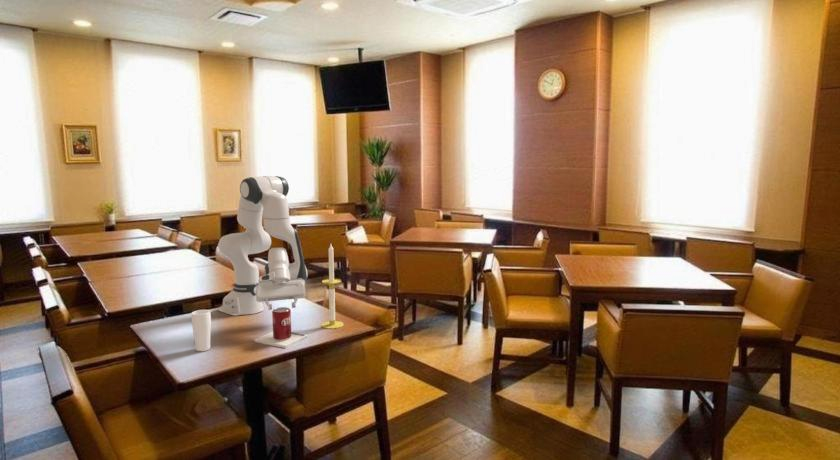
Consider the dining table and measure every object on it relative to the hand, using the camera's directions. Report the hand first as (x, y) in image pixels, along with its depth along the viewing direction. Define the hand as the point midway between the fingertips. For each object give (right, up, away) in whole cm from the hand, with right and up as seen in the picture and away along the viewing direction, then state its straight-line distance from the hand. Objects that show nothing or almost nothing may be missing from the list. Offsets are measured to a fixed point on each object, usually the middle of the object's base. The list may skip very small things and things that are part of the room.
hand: (282, 308), depth 201 cm
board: (0, -13, -1) cm, 13 cm away
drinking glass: (-27, -14, -13) cm, 33 cm away
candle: (+18, -11, +17) cm, 27 cm away
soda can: (+1, -12, -3) cm, 12 cm away
